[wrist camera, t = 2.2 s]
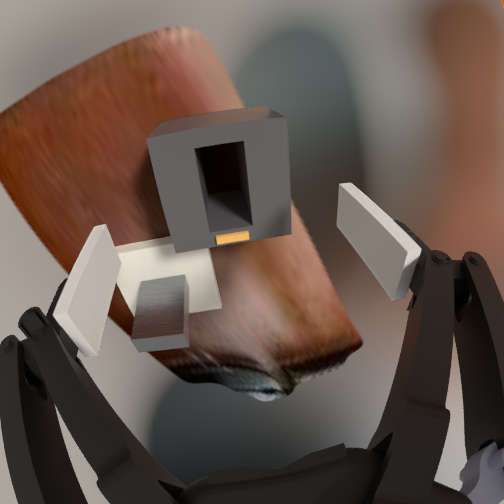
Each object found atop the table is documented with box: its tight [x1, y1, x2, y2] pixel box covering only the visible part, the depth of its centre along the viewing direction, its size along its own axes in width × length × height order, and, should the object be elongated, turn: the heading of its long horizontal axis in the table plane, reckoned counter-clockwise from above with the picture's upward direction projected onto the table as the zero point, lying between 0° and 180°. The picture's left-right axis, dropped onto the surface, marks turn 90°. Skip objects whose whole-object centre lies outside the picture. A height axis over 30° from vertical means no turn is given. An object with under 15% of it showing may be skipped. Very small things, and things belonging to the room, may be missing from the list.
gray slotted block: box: [146, 106, 291, 253], centre depth 22 cm, size 9×9×7 cm
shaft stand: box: [115, 236, 222, 352], centre depth 27 cm, size 11×10×10 cm
